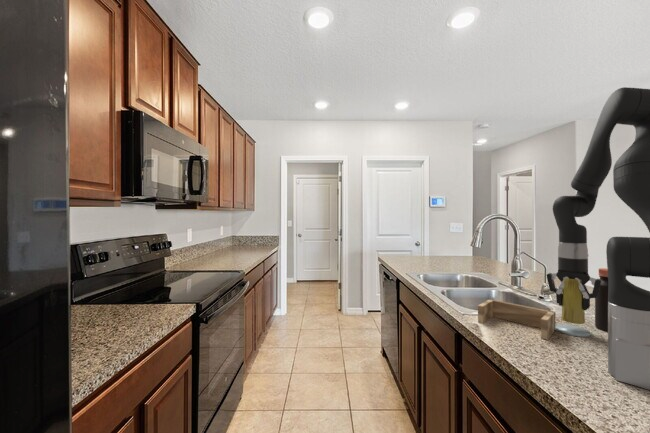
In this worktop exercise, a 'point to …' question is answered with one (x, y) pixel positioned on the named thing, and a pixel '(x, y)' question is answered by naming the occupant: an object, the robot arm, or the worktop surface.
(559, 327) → the trivet
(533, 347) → the worktop surface
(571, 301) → the vase
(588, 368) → the worktop surface
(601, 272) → the bottle
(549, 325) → the wooden bracket
